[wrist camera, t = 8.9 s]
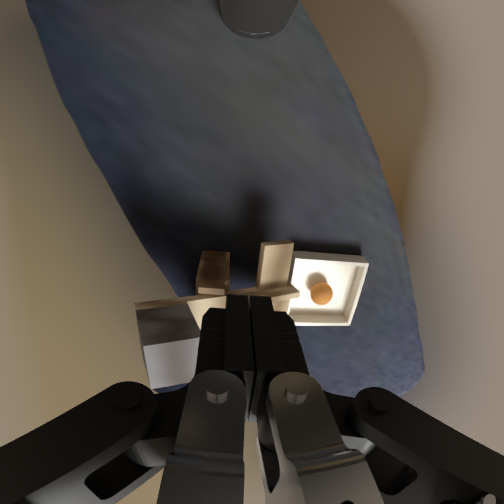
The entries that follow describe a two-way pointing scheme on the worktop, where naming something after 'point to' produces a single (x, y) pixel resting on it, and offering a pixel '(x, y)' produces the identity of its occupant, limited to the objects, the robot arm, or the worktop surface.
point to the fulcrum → (213, 273)
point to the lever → (190, 317)
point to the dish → (336, 276)
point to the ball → (321, 293)
